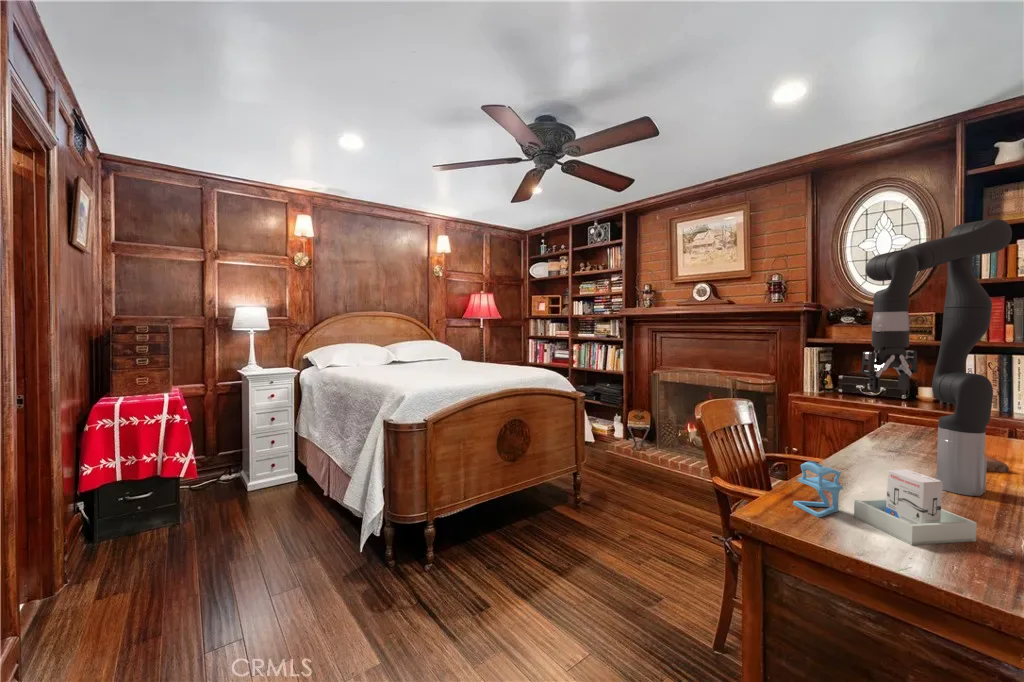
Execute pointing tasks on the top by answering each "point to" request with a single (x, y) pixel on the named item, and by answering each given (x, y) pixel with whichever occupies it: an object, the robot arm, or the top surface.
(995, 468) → the ceramic shard
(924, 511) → the ink box
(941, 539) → the celadon dish
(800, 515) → the top surface
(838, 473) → the chair
